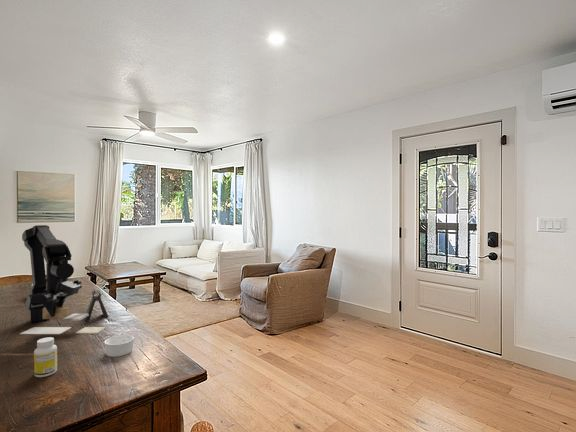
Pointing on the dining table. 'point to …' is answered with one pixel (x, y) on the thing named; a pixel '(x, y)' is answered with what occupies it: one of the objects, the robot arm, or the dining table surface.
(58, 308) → the turner
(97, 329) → the tile
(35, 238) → the robot arm
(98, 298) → the phone stand
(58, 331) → the tool rest
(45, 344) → the supplement bottle
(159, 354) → the dining table surface
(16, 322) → the dining table surface
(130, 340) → the ramekin
